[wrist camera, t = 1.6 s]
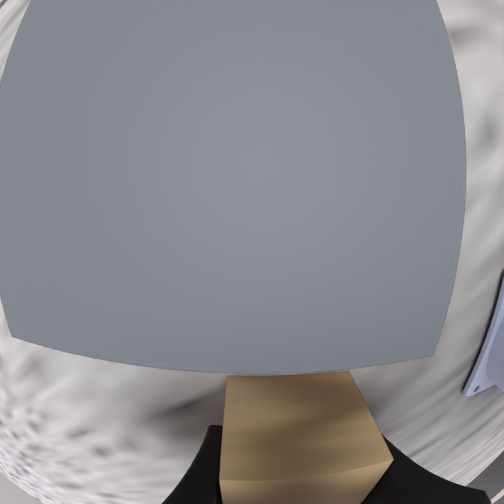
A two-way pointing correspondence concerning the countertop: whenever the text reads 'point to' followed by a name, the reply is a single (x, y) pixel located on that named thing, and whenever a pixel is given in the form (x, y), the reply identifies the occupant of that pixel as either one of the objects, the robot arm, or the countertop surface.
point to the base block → (231, 182)
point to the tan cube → (299, 441)
